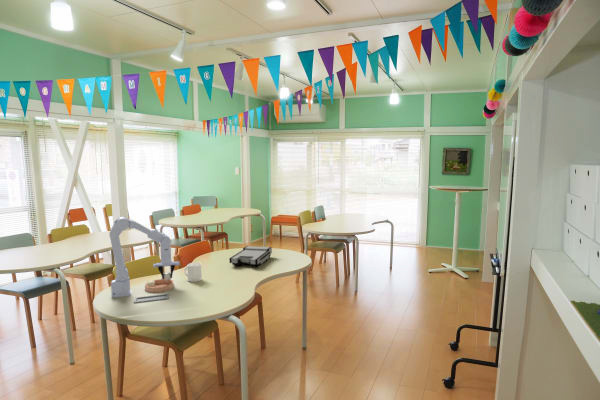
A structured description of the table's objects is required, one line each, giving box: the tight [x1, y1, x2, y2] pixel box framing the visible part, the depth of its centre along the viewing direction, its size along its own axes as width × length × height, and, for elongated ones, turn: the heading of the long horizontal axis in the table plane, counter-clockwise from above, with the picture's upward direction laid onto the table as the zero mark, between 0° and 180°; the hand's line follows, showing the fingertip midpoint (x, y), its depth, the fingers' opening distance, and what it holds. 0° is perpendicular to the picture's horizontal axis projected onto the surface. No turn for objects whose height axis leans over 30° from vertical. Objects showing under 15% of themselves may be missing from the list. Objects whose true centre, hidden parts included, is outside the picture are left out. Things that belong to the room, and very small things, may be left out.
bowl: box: [144, 278, 175, 293], centre depth 218 cm, size 16×16×3 cm
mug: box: [184, 262, 203, 283], centre depth 233 cm, size 12×8×10 cm
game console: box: [228, 245, 273, 267], centre depth 272 cm, size 21×32×8 cm, turn 166°
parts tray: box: [133, 293, 170, 304], centre depth 200 cm, size 17×7×1 cm, turn 108°
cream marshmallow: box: [146, 280, 155, 287], centre depth 216 cm, size 4×4×4 cm
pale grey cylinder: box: [163, 271, 172, 281], centre depth 219 cm, size 4×4×4 cm
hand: (167, 278), depth 219 cm, fingers closed on pale grey cylinder, 4 cm apart
